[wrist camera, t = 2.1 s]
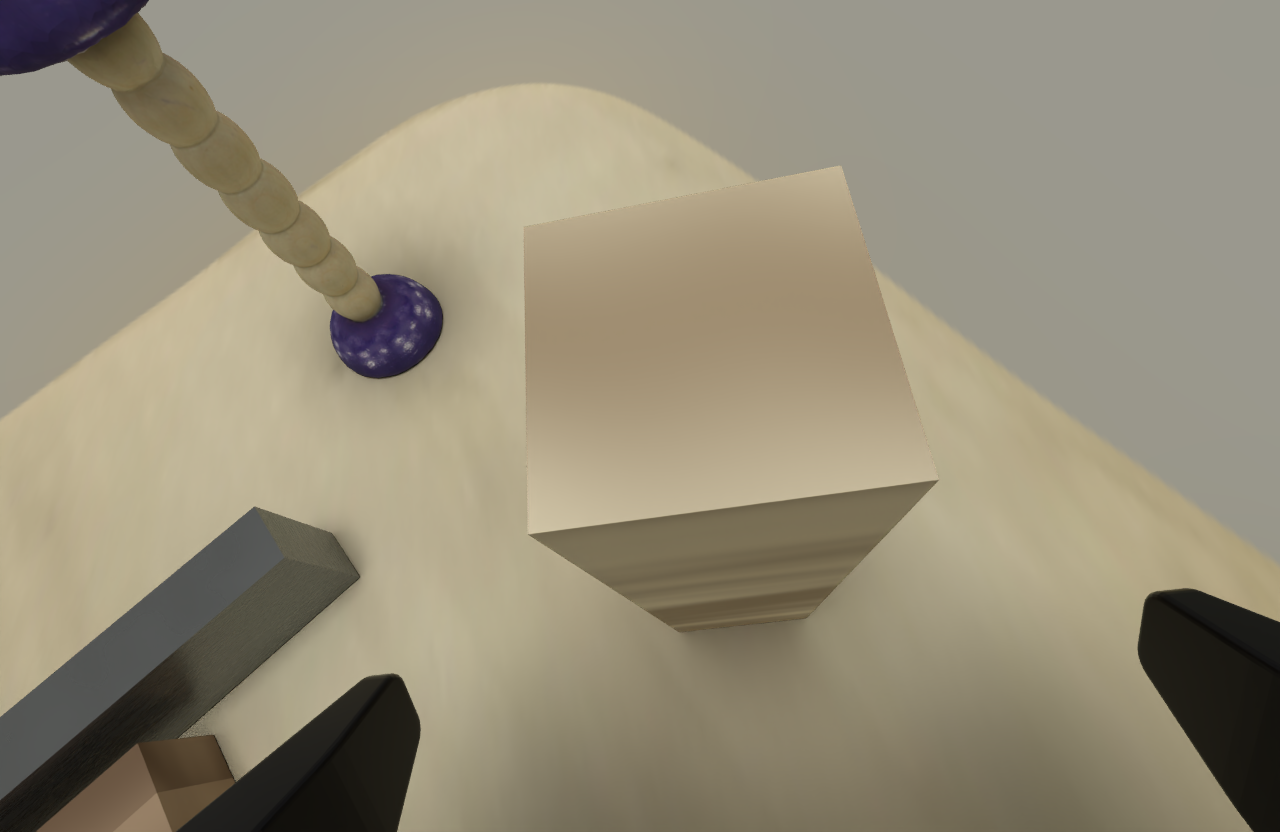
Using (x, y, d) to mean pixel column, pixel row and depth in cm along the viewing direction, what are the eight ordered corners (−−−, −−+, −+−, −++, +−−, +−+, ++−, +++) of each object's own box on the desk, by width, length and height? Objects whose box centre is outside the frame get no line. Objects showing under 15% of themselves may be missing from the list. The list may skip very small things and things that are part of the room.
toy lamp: (454, 270, 24) (-45, -420, 9) (460, 370, 22) (-167, -296, 7) (342, 299, 24) (-318, -316, 9) (338, 400, 22) (-508, -172, 7)
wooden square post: (806, 618, 17) (938, 480, 5) (679, 632, 17) (527, 533, 5) (782, 494, 18) (841, 165, 7) (665, 510, 19) (523, 226, 7)
